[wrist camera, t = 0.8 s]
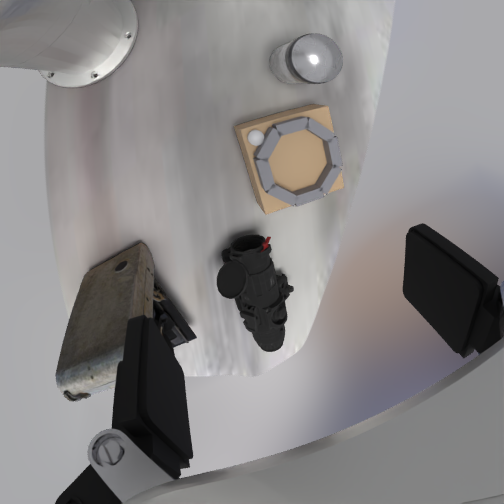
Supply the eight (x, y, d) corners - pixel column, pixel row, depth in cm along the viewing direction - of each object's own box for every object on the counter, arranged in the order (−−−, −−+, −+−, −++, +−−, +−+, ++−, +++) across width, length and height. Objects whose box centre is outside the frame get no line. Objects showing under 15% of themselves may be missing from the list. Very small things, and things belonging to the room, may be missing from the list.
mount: (233, 126, 33) (243, 131, 29) (313, 104, 34) (334, 106, 29) (257, 202, 38) (269, 219, 34) (329, 178, 39) (350, 191, 34)
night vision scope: (264, 315, 51) (225, 356, 44) (240, 216, 42) (187, 254, 36) (306, 329, 46) (268, 376, 40) (291, 223, 37) (238, 268, 31)
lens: (263, 48, 29) (286, 36, 23) (304, 40, 30) (336, 30, 23) (275, 89, 32) (301, 88, 25) (315, 80, 32) (348, 78, 26)
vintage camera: (144, 340, 45) (149, 455, 29) (83, 268, 37) (49, 390, 20) (197, 316, 46) (222, 434, 29) (142, 235, 37) (132, 358, 20)
